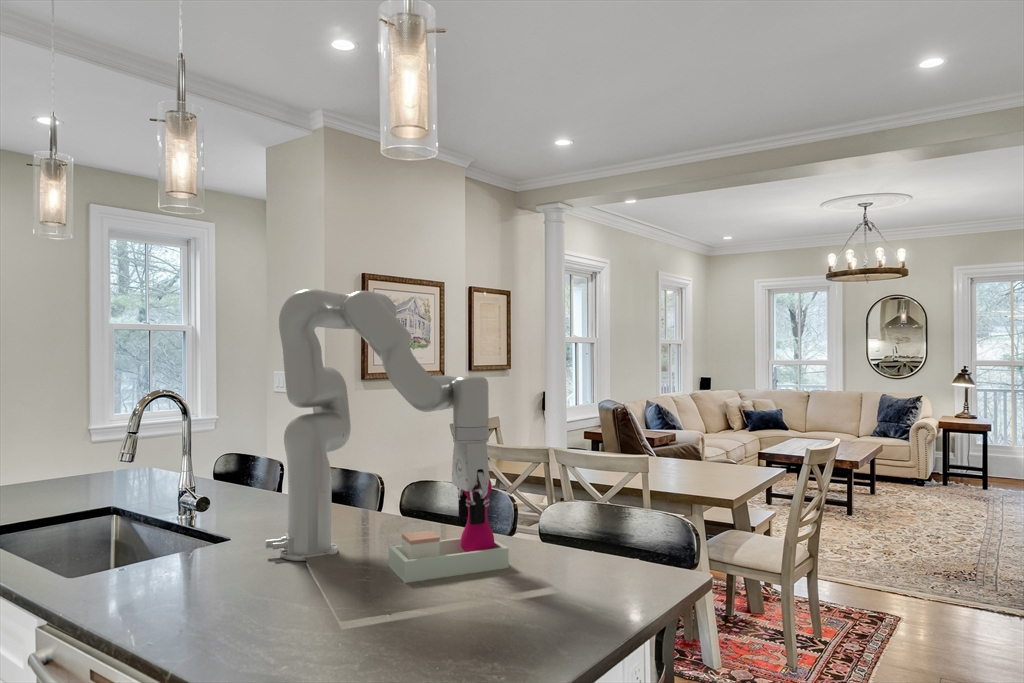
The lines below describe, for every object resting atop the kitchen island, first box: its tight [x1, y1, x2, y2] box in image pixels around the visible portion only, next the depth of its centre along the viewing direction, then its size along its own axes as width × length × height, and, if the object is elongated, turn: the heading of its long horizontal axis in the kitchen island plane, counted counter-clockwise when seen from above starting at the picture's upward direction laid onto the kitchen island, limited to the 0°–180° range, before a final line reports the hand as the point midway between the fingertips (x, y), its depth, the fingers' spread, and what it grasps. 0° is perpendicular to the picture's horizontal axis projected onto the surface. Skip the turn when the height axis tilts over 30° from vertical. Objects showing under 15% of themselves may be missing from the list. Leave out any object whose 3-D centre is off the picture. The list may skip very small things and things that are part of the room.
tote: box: [388, 537, 510, 584], centre depth 139 cm, size 22×12×5 cm, turn 115°
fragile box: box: [401, 530, 441, 560], centre depth 137 cm, size 6×6×7 cm
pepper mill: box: [460, 479, 495, 552], centre depth 142 cm, size 7×7×20 cm
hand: (471, 519), depth 142 cm, fingers open, 5 cm apart
